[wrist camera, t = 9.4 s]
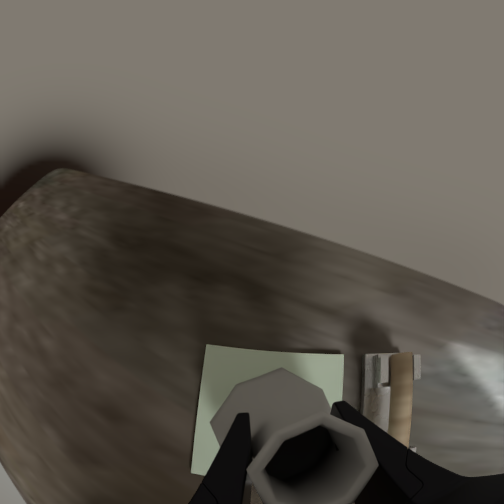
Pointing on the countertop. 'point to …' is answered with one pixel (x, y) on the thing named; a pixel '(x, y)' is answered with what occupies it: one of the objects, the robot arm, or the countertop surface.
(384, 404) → the cradle
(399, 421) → the rod
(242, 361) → the pad
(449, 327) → the countertop surface
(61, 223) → the countertop surface
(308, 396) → the flask
